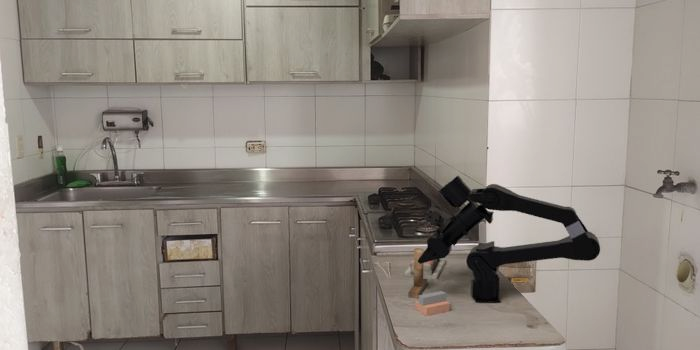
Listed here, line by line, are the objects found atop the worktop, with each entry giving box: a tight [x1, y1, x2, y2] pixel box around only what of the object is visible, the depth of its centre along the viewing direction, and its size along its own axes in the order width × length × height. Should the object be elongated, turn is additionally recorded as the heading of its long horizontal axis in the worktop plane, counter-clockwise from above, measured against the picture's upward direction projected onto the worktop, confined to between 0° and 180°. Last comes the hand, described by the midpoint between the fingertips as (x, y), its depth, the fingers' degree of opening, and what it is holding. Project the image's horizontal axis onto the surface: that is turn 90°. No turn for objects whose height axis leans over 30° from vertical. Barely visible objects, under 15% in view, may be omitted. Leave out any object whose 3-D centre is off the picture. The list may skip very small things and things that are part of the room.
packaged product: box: [403, 249, 447, 280], centre depth 174 cm, size 18×5×10 cm
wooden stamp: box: [407, 247, 429, 300], centre depth 155 cm, size 3×12×12 cm, turn 160°
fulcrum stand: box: [414, 290, 451, 317], centre depth 142 cm, size 7×5×4 cm
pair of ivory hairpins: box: [374, 261, 392, 279], centre depth 172 cm, size 17×5×2 cm, turn 7°
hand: (422, 257), depth 154 cm, fingers open, 9 cm apart
